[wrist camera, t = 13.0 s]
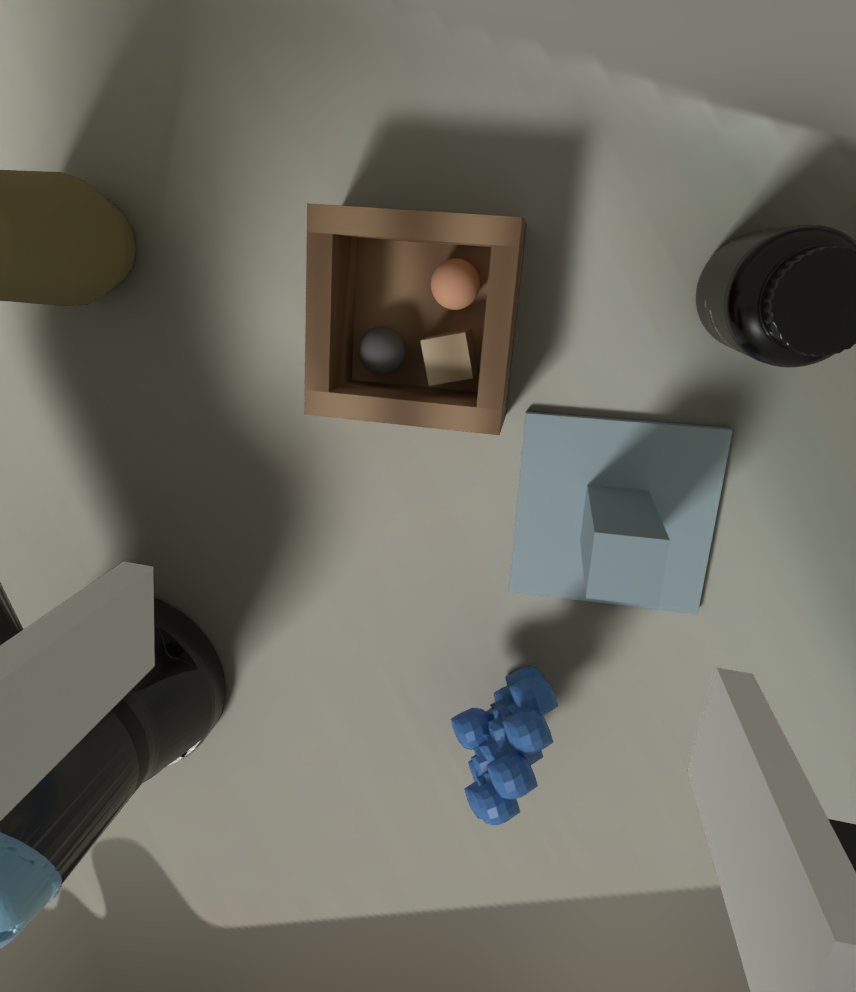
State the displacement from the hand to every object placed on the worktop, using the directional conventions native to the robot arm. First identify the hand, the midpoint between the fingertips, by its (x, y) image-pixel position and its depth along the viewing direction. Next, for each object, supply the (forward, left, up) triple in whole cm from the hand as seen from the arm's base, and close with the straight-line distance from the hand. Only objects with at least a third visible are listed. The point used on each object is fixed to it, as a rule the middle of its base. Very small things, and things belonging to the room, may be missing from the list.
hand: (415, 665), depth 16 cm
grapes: (+2, -22, -33) cm, 39 cm away
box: (-6, +5, -33) cm, 34 cm away
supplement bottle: (+14, +8, -33) cm, 37 cm away
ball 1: (-8, +3, -32) cm, 33 cm away
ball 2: (-4, +8, -32) cm, 33 cm away
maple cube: (-4, +3, -32) cm, 32 cm away
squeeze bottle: (-29, +8, -33) cm, 45 cm away
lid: (+8, -6, -33) cm, 35 cm away
